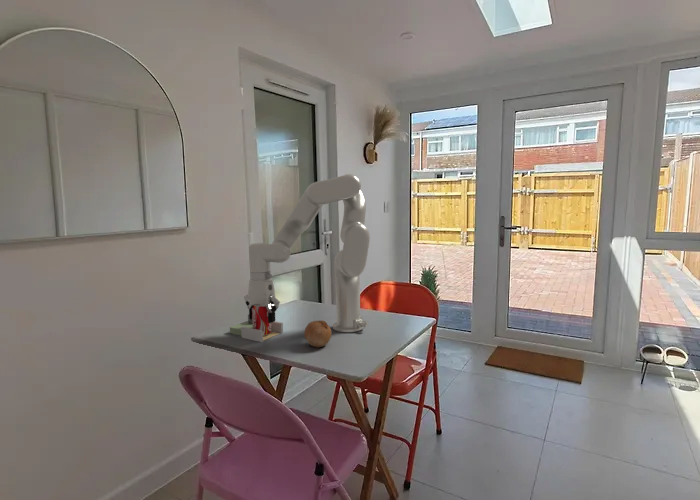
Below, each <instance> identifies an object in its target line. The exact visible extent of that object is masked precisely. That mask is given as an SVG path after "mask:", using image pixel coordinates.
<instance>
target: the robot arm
mask: <svg viewBox="0 0 700 500" xmlns="http://www.w3.org/2000/svg"><path fill="white" fill-rule="evenodd" d="M340 201H342V202H343V216H342V224H341V227H340V228H341V229H340V233H339V234H340V240H341V242H342V243H343V247H342V249H341V250H340V251H338V252H337V254H335V257H334V274H335V275H334V276H335V303H336V304H335V306H336V309H335V310H336V316H335V317H336V322H335V323H333V324H332V329H333V330H335V331H337V332H339V333H355V332H359V331H362V330H364V328H368V327H369V321H368V320H364V319H363V316H362V315H361V279H360V276H361V275H362V273H364V270H365V268H366V266H367V260H368V254H369V248H370V239H371V238H370V237H371V236H370V231H369V229H368V228H367V226H366V225H365V223H366V221H365V220H366V211H367V203H366V198H365V196H364V193H363V191H362V184H361V181H360V179H359V177H357V176H356V175H354V174H350V173H349V174H344V175H339V176H336V177H333V178H328V179H323V180H319V181H315V182H312V183H310V184H309V185H308V186H307V187H306V189H305V191H304V192H303V194H302V195H301V197H300V198H299V200H298V202H297V203H296V204H295V206H294V208H293V210H292V211H291V212H290V214H289V215H288V217H287V219H286V221H285V223H284V224H283V225H282V227H281V228H280V230H279V232H278V233H277V234H276V237H275V238H274V239H273V241H272V243H271V244H270V243H269V244H268V243H266V242H256V243H251V244H250V245H249V246H248V261H249V263H248V264H249V278H250V279H249V280H248V281H249V282H248V294H247V295H245V296H243V299H244V301H245V304H246V307H247V309H248V315H249V319H252V308H253V306H254V305H256V306H262V307H266V308H267V309H268V311H269V313H268V323H272V322H275V321H276V312H277V310H278V309H279V305H280V303H281V301H280V300H279V299H278V298H276V291H275V286H274V285H275V284H274V281H273V279H271V278H272V276H273V274H271V263H274V264H275V263H277V264H279V263H280V264H283V263H286V262H288V260H289V259H290V258H291V253H292V252H291V250H292V248H293V247H294V245H295V243H296V242H297V240H298V239H299V237H300V236H301V235H302V234H303V233H304V232H305V231H306V230H308V229H309V228H310V226H311V224H312V223H313V222H314V220H315V218H316V216H317V215H318V214H319V212H320V210H321V209H322V207H323V206H324V205H327V204H328V205H329V204H333V203H336V202H340Z"/></svg>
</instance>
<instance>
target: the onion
mask: <svg viewBox="0 0 700 500" xmlns="http://www.w3.org/2000/svg"><path fill="white" fill-rule="evenodd" d="M303 335H304V339H305V340H306V342H307V343H308V344H309V345H310V346H311V347H313V348H321V347H325V346H326V345H328V344H329V342H330V340H331V338H332V329H331V327H330V326H329V325H328V323H327V322H326V321H325V320H313V321H310V322H309V323H307V325H306V326H305V328H304V334H303Z"/></svg>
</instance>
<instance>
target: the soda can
mask: <svg viewBox="0 0 700 500" xmlns="http://www.w3.org/2000/svg"><path fill="white" fill-rule="evenodd" d="M268 313H269V311H268V309H267V308H266V307H262V306H256V305H254V306H253V308H252V325H253V329H257V330H262V331H263V336H267V335H269V334H270V333H271V328H272V327H271V323H268Z"/></svg>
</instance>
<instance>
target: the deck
mask: <svg viewBox="0 0 700 500" xmlns="http://www.w3.org/2000/svg"><path fill="white" fill-rule="evenodd" d="M271 327H272V328H271V333H270V334H269V335H267V336H263V331H262V330H257V329H253V325H252V319H249V314H247V320H246V321H244V322H241V323H238V324H235V325H231V326H229V334H233V335H236V336H241V339H245V340H251V341H255V342H258V343H259V342H260V343H263V342H264V341H266V340H268V339H271V338H273V337H275V336H277V335H280V334H283V333H284V322H281V321H276V320H275V322H272V323H271Z"/></svg>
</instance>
